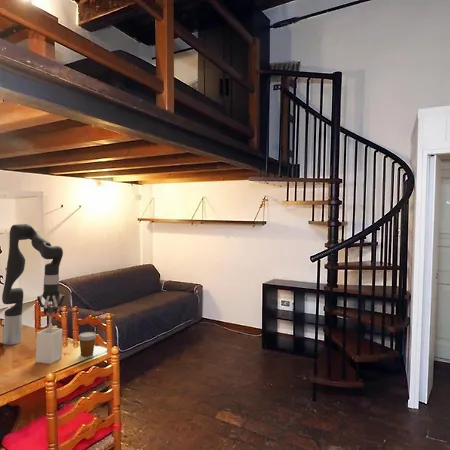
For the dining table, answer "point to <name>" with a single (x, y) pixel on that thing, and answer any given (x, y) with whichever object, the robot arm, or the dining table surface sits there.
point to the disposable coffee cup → (87, 343)
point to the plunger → (50, 311)
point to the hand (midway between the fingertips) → (50, 314)
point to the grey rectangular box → (49, 346)
